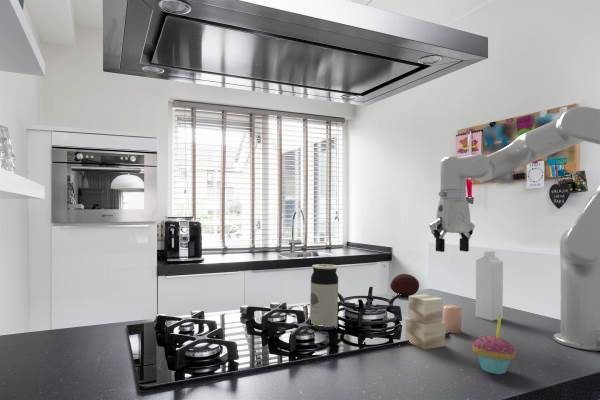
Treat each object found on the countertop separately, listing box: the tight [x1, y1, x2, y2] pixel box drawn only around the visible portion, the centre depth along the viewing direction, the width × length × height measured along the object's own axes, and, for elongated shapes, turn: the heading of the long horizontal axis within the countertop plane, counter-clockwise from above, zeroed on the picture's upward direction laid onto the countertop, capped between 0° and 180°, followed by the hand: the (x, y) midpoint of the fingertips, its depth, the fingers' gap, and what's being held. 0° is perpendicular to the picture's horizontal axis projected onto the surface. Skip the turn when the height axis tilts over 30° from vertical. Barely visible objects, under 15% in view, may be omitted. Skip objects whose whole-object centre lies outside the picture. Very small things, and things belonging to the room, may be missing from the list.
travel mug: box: [309, 263, 339, 328], centre depth 118 cm, size 8×8×18 cm
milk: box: [475, 250, 504, 322], centre depth 135 cm, size 6×6×22 cm
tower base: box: [404, 317, 446, 350], centre depth 105 cm, size 7×7×6 cm
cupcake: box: [472, 314, 516, 375], centre depth 88 cm, size 9×8×12 cm
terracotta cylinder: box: [442, 304, 463, 334], centre depth 118 cm, size 5×5×7 cm
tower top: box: [407, 294, 444, 324], centre depth 106 cm, size 6×6×6 cm
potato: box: [390, 273, 420, 297], centre depth 167 cm, size 9×12×9 cm
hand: (452, 251), depth 125 cm, fingers open, 9 cm apart
